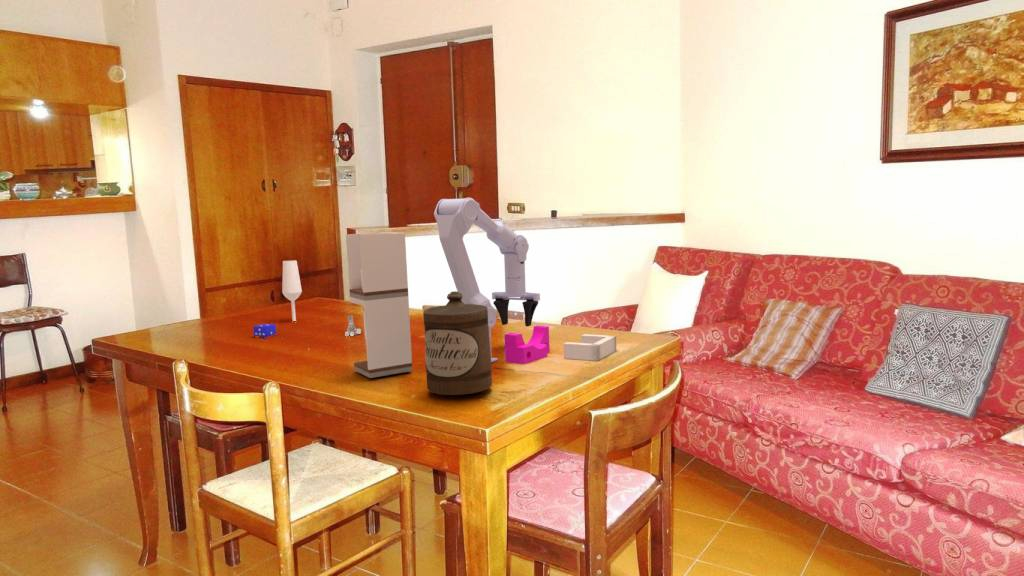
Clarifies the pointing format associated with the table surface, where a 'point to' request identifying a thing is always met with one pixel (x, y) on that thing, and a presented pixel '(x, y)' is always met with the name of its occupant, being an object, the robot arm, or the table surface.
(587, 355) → the block holder
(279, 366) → the table surface
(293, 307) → the champagne flute
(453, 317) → the wooden container
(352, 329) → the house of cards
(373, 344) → the grey stacked tower
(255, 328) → the die
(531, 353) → the toy block
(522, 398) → the table surface
